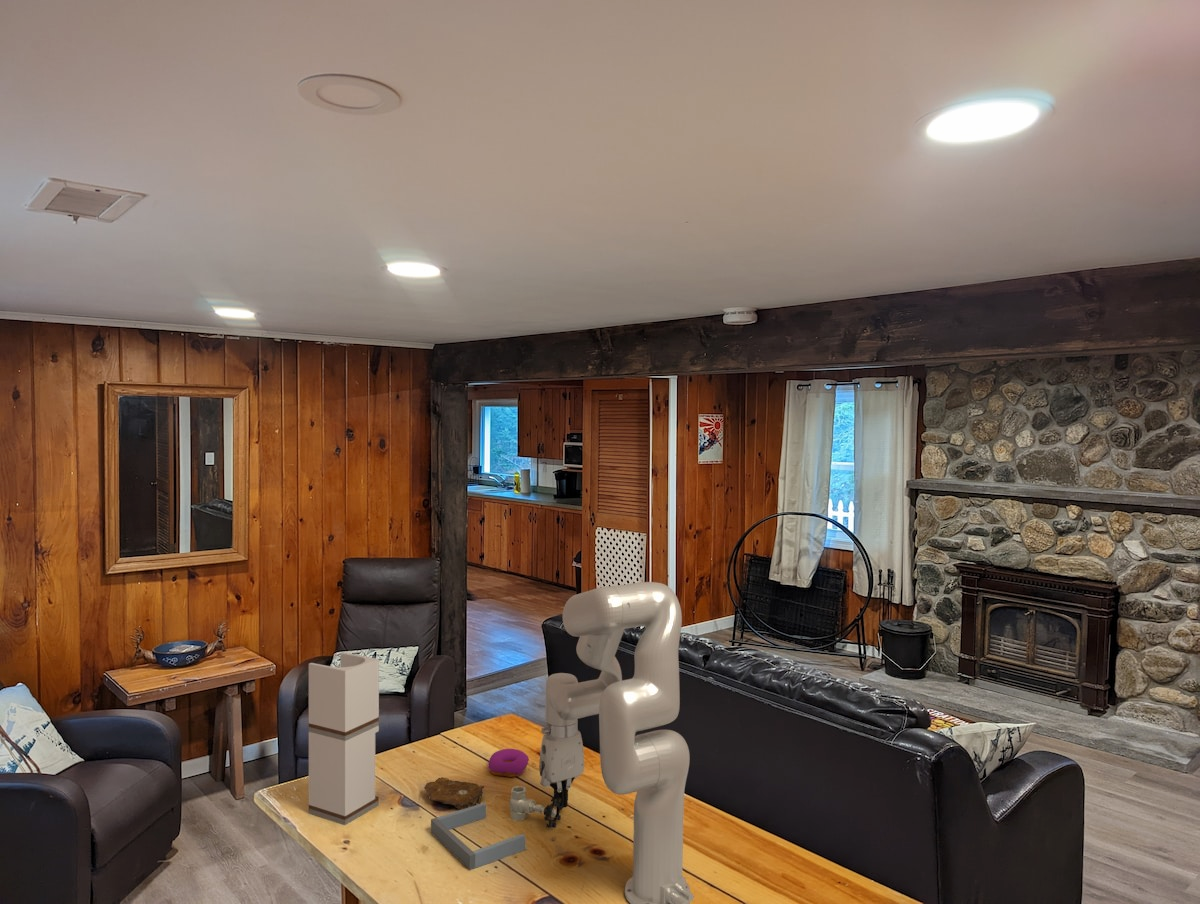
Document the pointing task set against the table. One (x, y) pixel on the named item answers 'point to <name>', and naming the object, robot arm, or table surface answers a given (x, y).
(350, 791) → the banded square pillar
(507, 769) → the donut
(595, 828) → the table surface
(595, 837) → the table surface
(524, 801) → the valve
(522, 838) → the dock cradle
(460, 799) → the decorative rock
